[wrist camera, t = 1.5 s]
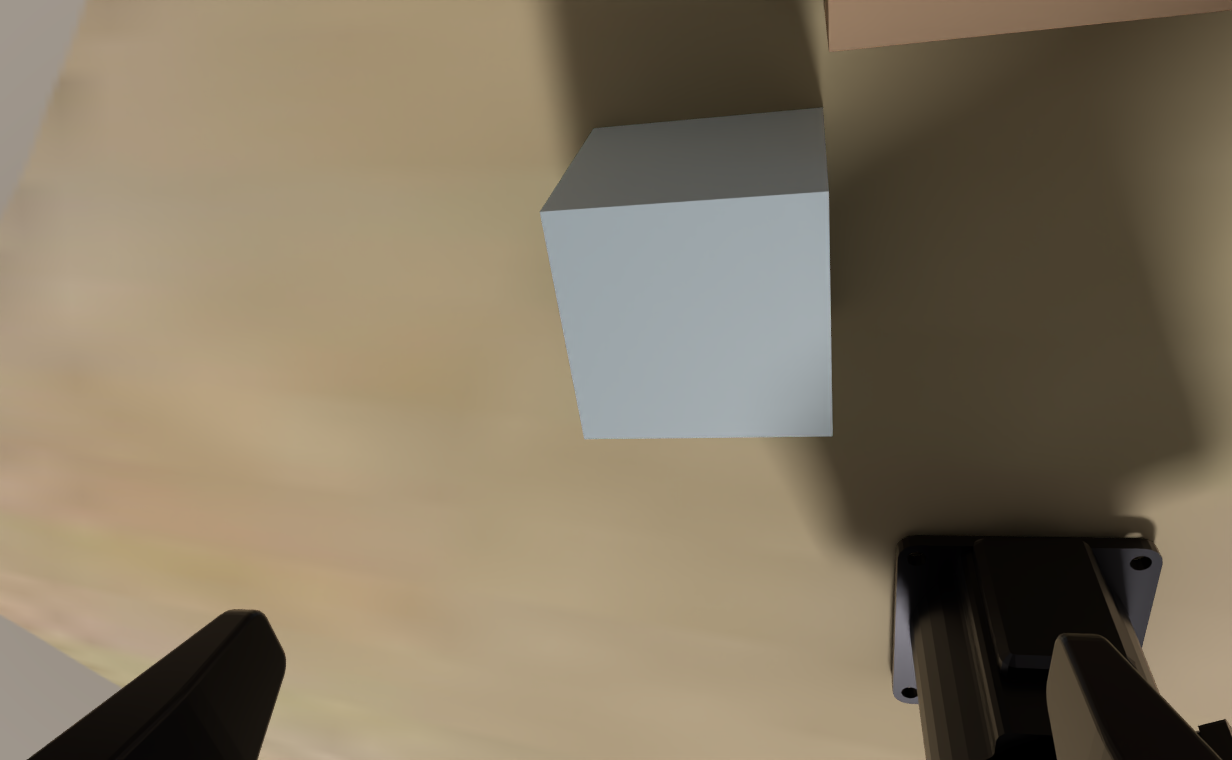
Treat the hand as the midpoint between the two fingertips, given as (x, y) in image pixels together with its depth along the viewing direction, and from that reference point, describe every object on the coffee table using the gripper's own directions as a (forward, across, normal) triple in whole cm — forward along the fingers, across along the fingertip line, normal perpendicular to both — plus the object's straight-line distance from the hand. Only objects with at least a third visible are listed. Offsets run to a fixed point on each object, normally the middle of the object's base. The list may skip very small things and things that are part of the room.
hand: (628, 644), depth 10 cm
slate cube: (+13, 0, +1) cm, 13 cm away
